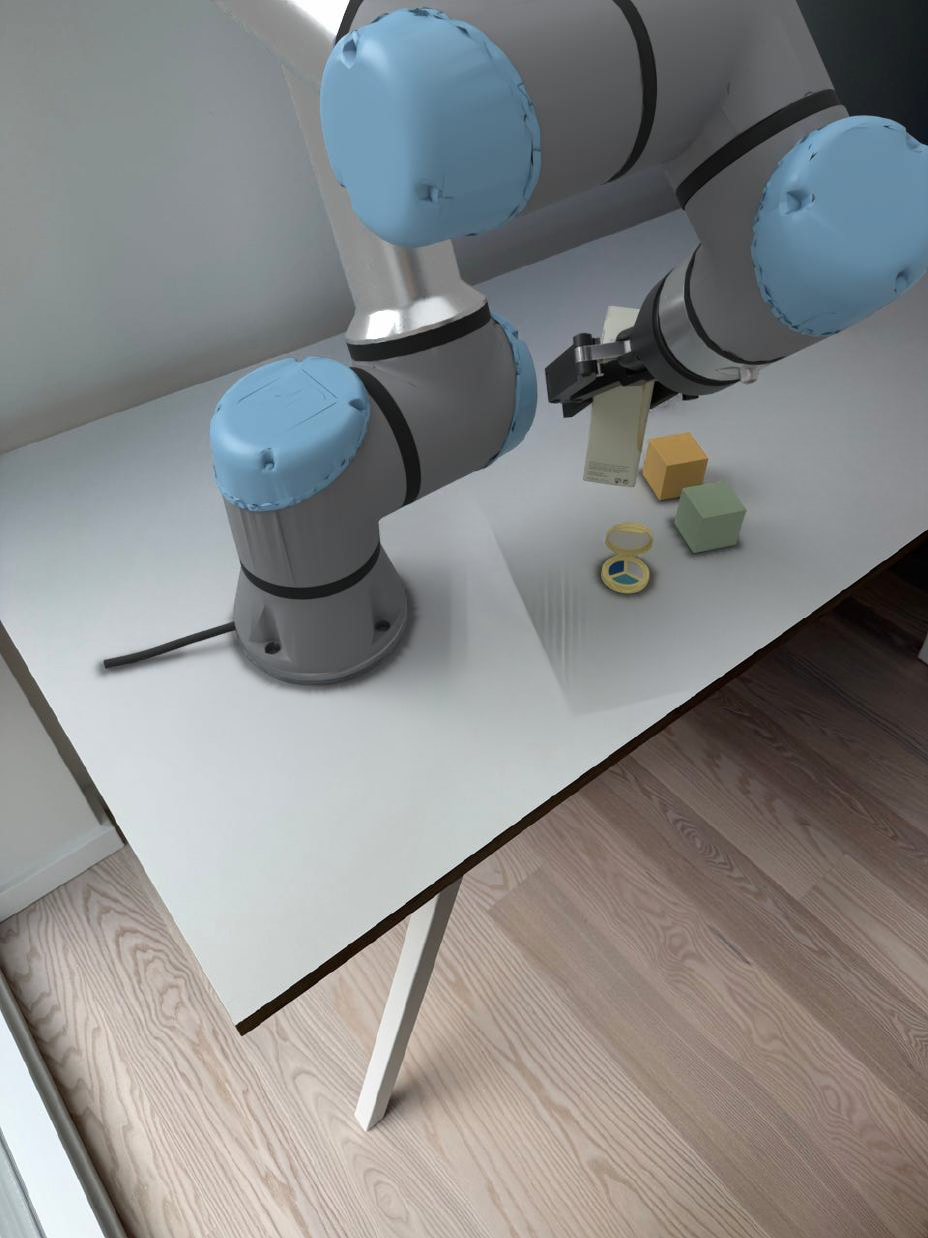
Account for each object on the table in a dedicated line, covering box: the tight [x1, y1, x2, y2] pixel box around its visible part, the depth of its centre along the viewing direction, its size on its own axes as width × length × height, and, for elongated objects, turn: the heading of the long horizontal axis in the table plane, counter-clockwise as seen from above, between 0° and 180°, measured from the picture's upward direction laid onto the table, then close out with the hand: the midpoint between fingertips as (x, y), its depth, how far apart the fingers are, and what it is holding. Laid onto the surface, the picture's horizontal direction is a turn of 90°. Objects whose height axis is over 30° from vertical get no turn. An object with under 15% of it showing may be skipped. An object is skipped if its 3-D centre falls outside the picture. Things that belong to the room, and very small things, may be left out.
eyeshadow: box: [600, 521, 654, 594], centre depth 82 cm, size 4×5×5 cm
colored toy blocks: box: [642, 431, 747, 554], centre depth 94 cm, size 4×28×4 cm, turn 16°
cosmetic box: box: [582, 305, 654, 488], centre depth 69 cm, size 6×4×12 cm
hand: (605, 396), depth 73 cm, fingers closed on cosmetic box, 6 cm apart
